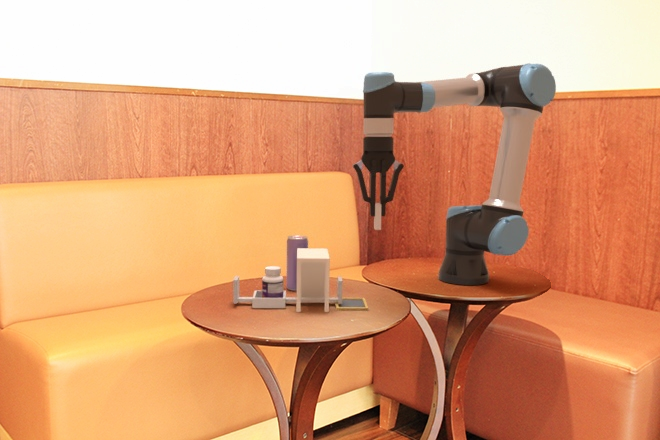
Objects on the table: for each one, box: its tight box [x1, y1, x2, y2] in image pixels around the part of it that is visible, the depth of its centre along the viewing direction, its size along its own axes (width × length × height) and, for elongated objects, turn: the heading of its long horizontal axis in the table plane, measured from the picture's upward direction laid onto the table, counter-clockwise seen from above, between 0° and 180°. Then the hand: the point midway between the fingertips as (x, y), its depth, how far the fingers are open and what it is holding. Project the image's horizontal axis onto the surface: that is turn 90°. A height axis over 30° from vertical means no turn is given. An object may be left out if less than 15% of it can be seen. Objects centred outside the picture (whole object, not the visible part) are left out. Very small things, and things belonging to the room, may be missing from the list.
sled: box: [232, 275, 344, 309], centre depth 165 cm, size 28×8×7 cm, turn 93°
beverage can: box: [286, 234, 309, 292], centre depth 181 cm, size 6×6×15 cm
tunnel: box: [295, 247, 331, 313], centre depth 165 cm, size 8×14×14 cm, turn 3°
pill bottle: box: [261, 265, 284, 298], centre depth 164 cm, size 5×5×10 cm
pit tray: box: [334, 297, 369, 311], centre depth 166 cm, size 8×10×1 cm
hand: (377, 229), depth 164 cm, fingers closed
